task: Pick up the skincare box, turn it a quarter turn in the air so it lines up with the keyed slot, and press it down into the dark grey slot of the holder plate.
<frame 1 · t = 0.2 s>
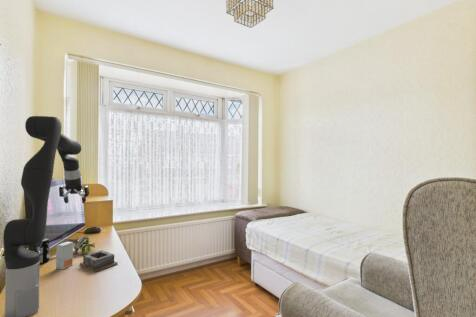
hand: (75, 202, 142), 30 cm above the table, tool tilted 20°, fingers open, 8 cm apart
passion flower: (84, 252, 148), on the table
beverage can: (41, 262, 133), on the table
skincare box: (64, 267, 127), on the table
keyed holder: (98, 264, 130), on the table
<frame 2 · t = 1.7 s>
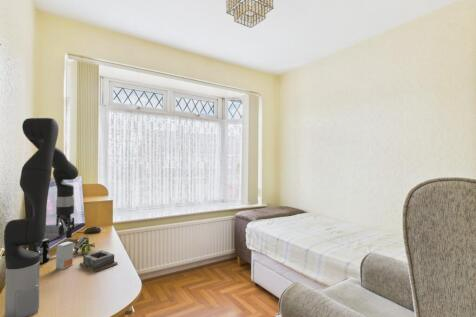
hand: (64, 236, 128), 16 cm above the table, tool pointing down, fingers open, 8 cm apart
nothing on the table moved.
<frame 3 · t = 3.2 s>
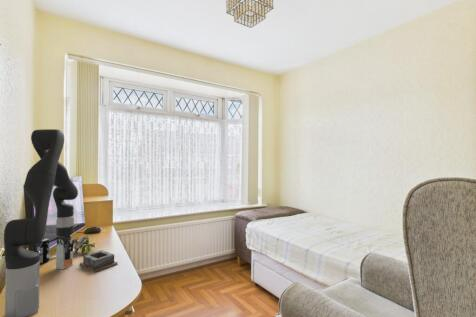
hand: (64, 258, 127), 4 cm above the table, tool pointing down, fingers closed on skincare box, 5 cm apart
skincare box: (64, 267, 127), on the table, touching gripper
everything else where it was.
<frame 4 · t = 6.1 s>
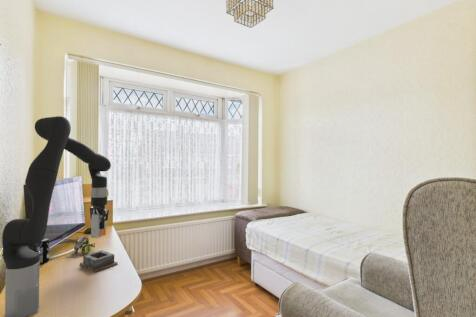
hand: (98, 228, 130), 19 cm above the table, tool pointing down, fingers closed on skincare box, 5 cm apart
skincare box: (98, 237, 130), point 14 cm above the table, touching gripper
everything else where it was.
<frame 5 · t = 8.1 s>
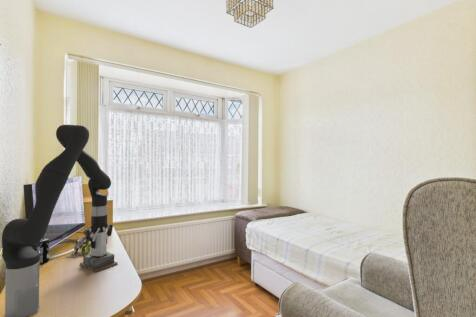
hand: (99, 246, 130), 10 cm above the table, tool pointing down, fingers closed on skincare box, 5 cm apart
skincare box: (98, 255, 130), point 5 cm above the table, touching gripper
everything else where it was.
when the fingers open (8 cm above the table, at t = 9.2 s): skincare box drops 3 cm, resting on keyed holder.
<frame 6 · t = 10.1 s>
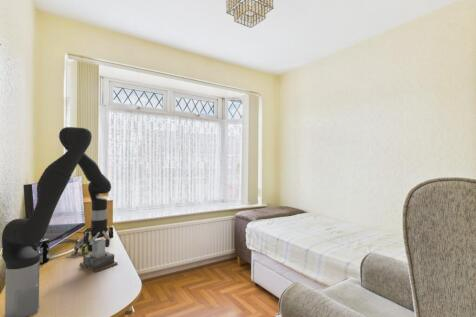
hand: (98, 249, 130), 8 cm above the table, tool pointing down, fingers open, 8 cm apart
skincare box: (97, 263, 130), point 1 cm above the table, touching keyed holder
everything else where it was.
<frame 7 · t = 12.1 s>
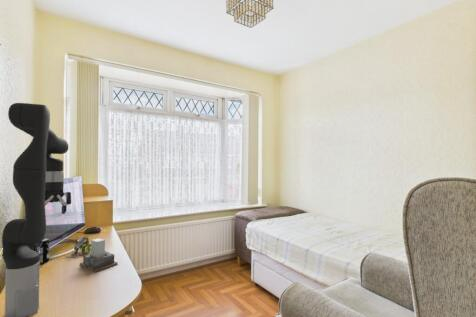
hand: (53, 215, 118), 29 cm above the table, tool pointing down, fingers open, 8 cm apart
nothing on the table moved.
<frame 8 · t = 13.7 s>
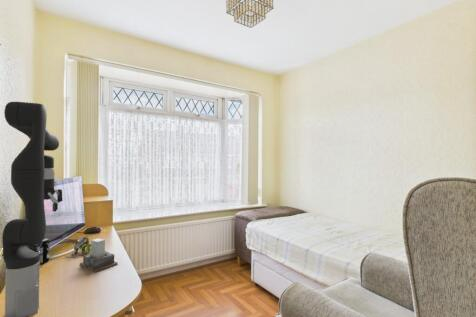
hand: (43, 212, 116), 30 cm above the table, tool pointing down, fingers open, 8 cm apart
nothing on the table moved.
at the end: skincare box 0.5 cm off-centre on the keyed holder, point 0.8 cm above the keyed holder's base; skincare box tilted 0°; the gripper is holding nothing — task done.
